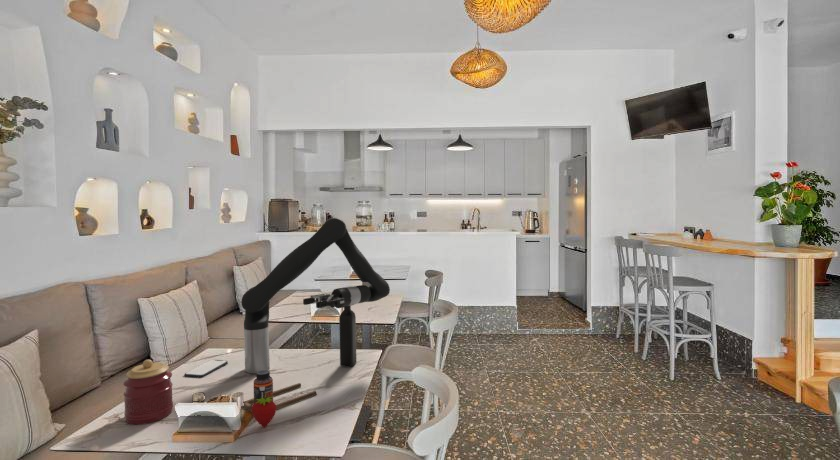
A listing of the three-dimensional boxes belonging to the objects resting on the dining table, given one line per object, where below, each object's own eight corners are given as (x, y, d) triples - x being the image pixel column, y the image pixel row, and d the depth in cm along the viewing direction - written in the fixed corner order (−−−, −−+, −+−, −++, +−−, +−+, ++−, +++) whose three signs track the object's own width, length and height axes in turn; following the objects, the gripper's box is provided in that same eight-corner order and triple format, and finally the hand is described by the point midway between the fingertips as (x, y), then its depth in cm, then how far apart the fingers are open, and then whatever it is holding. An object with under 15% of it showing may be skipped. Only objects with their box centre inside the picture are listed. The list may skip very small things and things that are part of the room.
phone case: (202, 379, 163) (229, 364, 179) (202, 375, 163) (229, 360, 179) (182, 378, 165) (210, 362, 181) (182, 374, 165) (210, 359, 181)
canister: (143, 405, 140) (141, 352, 139) (182, 405, 140) (180, 352, 139) (113, 425, 127) (111, 367, 126) (156, 425, 127) (154, 367, 126)
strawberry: (260, 420, 129) (259, 387, 129) (281, 423, 127) (280, 391, 126) (246, 429, 123) (246, 396, 123) (268, 433, 121) (267, 399, 121)
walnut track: (242, 405, 139) (242, 401, 139) (299, 386, 154) (299, 382, 154) (258, 416, 131) (258, 412, 131) (316, 394, 147) (316, 391, 147)
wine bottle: (344, 361, 179) (343, 291, 178) (357, 362, 178) (356, 291, 177) (339, 366, 174) (337, 293, 173) (352, 367, 173) (351, 294, 171)
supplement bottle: (267, 411, 135) (266, 376, 135) (250, 409, 136) (249, 374, 136) (276, 402, 141) (276, 369, 140) (260, 401, 142) (259, 368, 142)
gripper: (335, 285, 171) (299, 291, 159) (357, 289, 161) (321, 295, 149) (335, 303, 171) (299, 310, 159) (357, 309, 161) (321, 317, 149)
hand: (310, 303), depth 154 cm, fingers open, 8 cm apart
